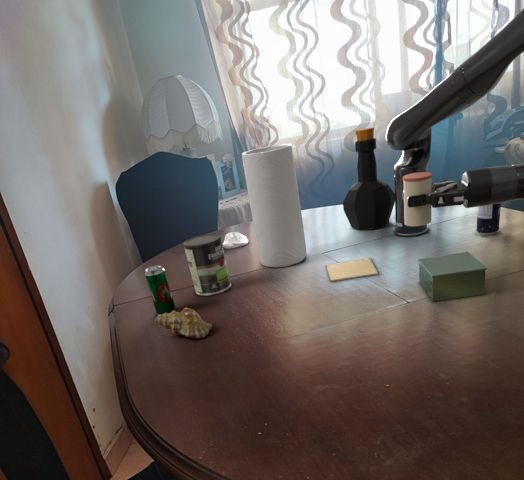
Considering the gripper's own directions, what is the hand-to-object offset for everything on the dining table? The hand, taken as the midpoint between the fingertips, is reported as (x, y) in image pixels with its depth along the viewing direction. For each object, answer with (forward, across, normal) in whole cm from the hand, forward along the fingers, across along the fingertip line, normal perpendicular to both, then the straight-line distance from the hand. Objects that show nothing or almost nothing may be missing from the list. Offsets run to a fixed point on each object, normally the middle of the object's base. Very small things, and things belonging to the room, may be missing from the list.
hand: (405, 198), depth 100 cm
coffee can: (+50, -13, +20) cm, 56 cm away
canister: (-2, 0, +6) cm, 6 cm away
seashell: (+51, +14, +20) cm, 57 cm away
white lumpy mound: (+50, -54, +20) cm, 77 cm away
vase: (+31, -30, +20) cm, 48 cm away
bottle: (+3, -55, +20) cm, 58 cm away
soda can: (+60, -1, +20) cm, 64 cm away
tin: (-8, +6, +20) cm, 22 cm away
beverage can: (-27, -30, +20) cm, 45 cm away
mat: (+12, -14, +20) cm, 27 cm away
